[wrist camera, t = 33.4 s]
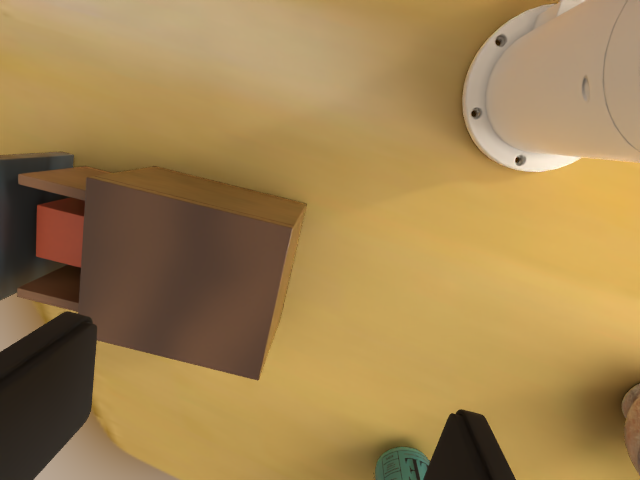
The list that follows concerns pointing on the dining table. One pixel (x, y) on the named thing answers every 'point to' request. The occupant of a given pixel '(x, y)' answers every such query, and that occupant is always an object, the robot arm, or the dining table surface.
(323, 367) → the dining table surface
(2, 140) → the dining table surface
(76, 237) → the block
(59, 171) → the drawer
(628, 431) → the pottery
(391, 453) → the beverage bottle
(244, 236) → the cabinet
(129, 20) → the dining table surface
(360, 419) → the dining table surface
